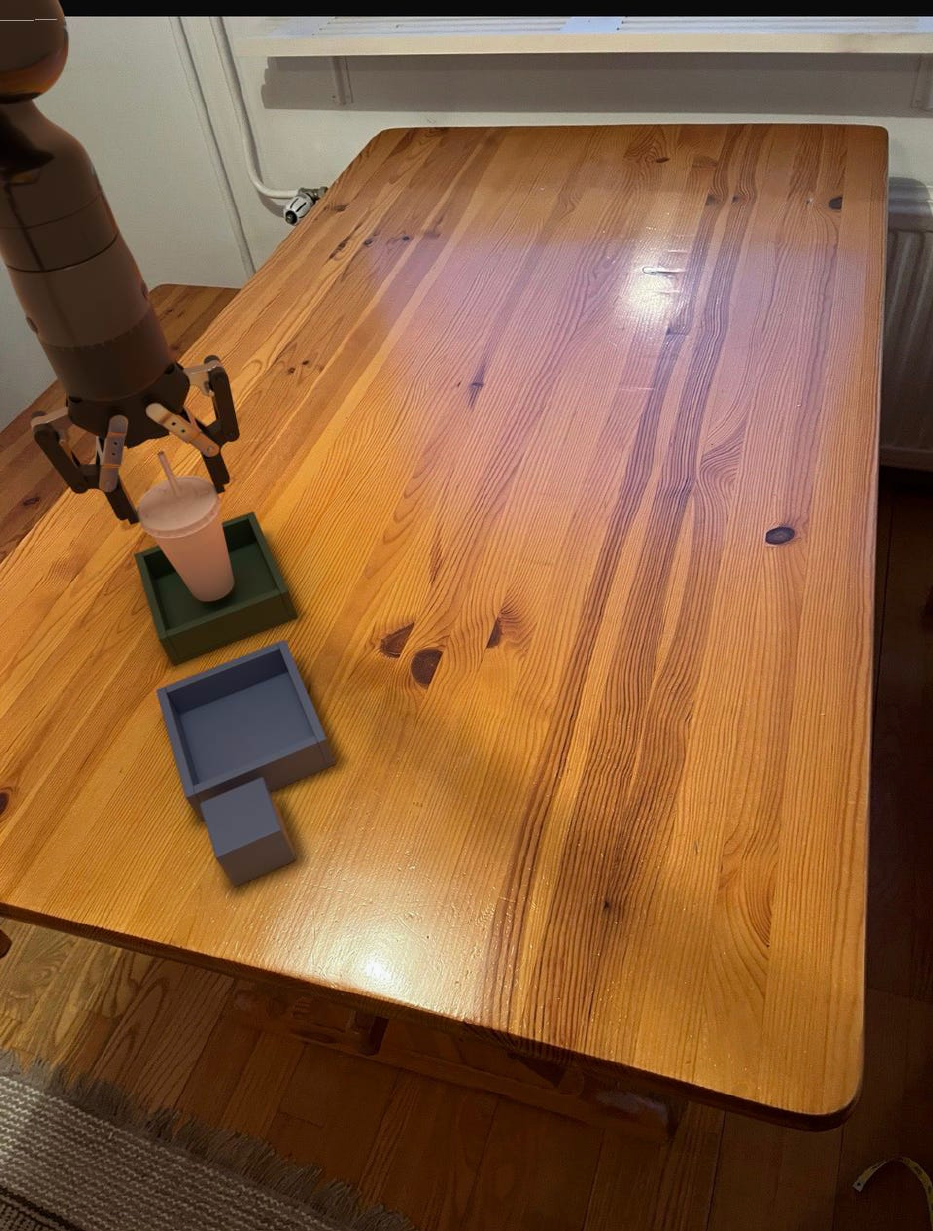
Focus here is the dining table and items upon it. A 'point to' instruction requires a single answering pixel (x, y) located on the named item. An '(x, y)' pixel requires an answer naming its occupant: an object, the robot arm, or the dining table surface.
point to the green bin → (228, 619)
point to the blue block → (247, 832)
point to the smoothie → (189, 531)
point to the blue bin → (243, 726)
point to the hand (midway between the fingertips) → (176, 501)
